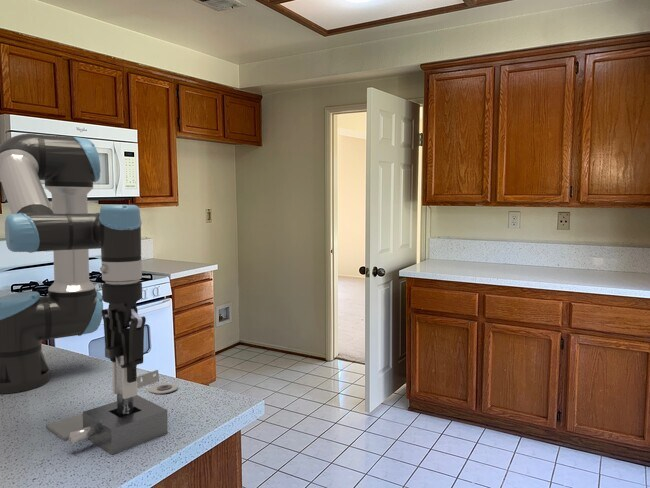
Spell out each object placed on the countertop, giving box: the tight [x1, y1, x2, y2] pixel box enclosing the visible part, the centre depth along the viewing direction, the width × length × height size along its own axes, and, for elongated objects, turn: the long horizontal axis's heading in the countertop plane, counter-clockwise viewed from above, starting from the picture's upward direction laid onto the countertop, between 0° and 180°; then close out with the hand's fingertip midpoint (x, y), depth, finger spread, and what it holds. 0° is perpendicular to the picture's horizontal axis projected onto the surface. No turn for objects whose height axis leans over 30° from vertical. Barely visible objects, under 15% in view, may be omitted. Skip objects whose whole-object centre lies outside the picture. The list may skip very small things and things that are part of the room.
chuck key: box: [104, 344, 134, 414], centre depth 104 cm, size 7×3×14 cm, turn 140°
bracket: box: [137, 369, 179, 395], centre depth 130 cm, size 7×10×4 cm, turn 57°
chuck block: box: [68, 394, 169, 455], centre depth 103 cm, size 12×17×5 cm
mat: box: [45, 412, 83, 441], centre depth 108 cm, size 9×9×1 cm
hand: (124, 394), depth 104 cm, fingers closed on chuck key, 3 cm apart
